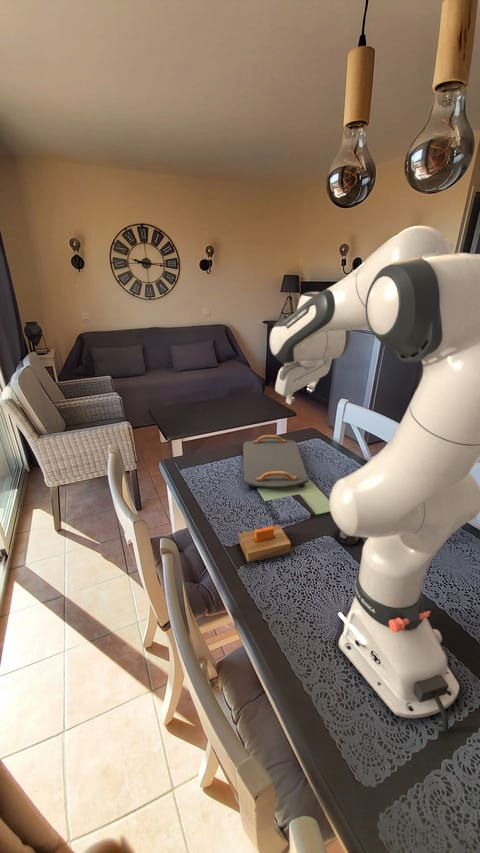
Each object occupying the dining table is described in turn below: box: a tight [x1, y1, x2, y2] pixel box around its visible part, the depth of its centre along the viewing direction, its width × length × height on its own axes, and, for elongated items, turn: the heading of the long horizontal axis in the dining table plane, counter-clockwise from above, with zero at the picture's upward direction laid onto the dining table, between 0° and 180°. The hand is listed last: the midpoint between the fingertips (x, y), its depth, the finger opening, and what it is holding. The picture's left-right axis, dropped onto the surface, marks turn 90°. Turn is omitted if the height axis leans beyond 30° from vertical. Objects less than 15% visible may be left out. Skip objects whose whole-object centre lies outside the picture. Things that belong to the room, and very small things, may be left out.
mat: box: [256, 477, 331, 516], centre depth 120 cm, size 20×20×1 cm
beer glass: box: [336, 527, 360, 546], centre depth 99 cm, size 7×7×15 cm
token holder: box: [238, 524, 292, 563], centre depth 98 cm, size 8×12×4 cm, turn 107°
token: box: [254, 525, 274, 543], centre depth 97 cm, size 1×5×6 cm, turn 107°
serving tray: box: [242, 434, 310, 490], centre depth 139 cm, size 39×23×6 cm, turn 0°
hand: (300, 396), depth 105 cm, fingers open, 8 cm apart
